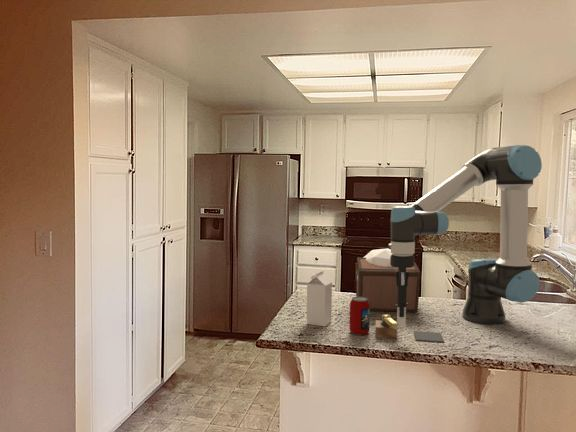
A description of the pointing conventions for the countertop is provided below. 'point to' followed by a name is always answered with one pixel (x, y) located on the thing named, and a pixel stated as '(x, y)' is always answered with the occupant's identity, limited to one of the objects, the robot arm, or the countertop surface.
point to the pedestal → (385, 330)
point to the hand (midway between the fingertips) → (401, 325)
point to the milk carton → (319, 300)
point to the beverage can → (359, 315)
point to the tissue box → (384, 282)
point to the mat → (428, 336)
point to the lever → (389, 321)
